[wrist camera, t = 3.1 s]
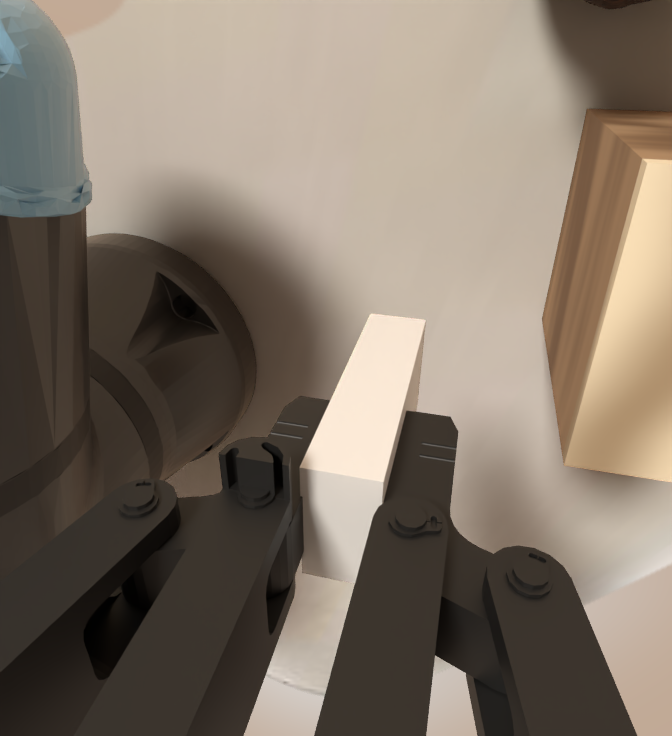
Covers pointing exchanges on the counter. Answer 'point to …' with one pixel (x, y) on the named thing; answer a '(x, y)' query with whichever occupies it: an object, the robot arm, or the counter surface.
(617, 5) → the mate gourd
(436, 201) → the counter surface
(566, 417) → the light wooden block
